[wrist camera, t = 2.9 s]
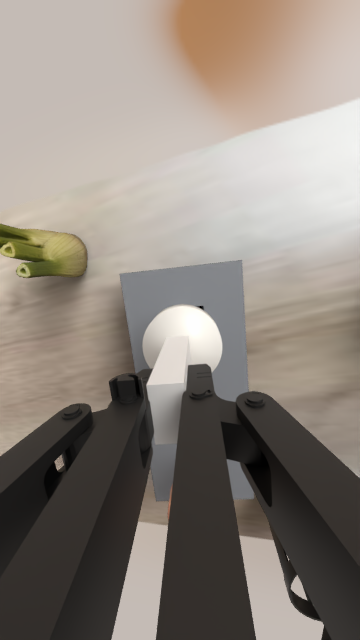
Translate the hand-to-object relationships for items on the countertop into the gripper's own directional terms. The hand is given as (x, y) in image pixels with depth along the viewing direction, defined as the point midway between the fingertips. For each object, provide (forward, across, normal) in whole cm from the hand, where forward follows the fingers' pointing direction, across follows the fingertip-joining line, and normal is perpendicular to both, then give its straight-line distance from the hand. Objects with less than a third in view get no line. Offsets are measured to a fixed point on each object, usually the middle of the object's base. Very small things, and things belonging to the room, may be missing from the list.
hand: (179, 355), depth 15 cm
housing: (+15, 0, +8) cm, 17 cm away
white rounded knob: (+10, 0, 0) cm, 10 cm away
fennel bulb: (+15, +14, -9) cm, 23 cm away
